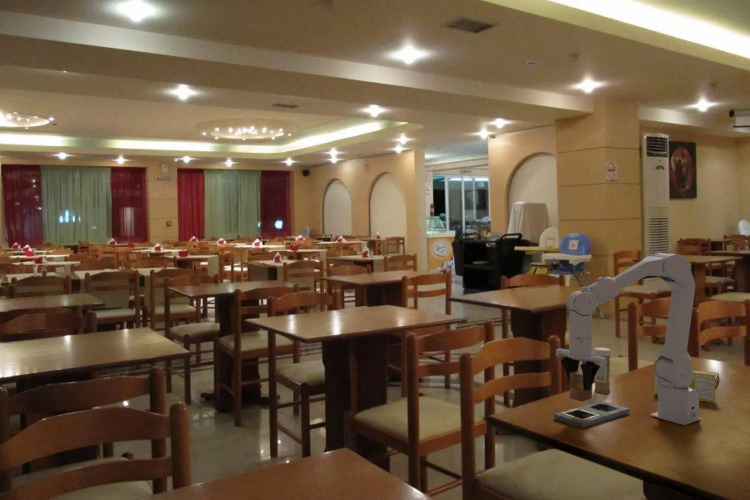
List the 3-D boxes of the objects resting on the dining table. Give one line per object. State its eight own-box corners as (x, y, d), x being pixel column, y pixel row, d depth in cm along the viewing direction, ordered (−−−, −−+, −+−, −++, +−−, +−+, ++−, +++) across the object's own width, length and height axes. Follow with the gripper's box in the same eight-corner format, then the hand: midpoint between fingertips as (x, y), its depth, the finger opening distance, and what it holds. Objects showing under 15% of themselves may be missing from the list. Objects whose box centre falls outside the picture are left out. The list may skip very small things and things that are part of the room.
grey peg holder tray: (629, 413, 166) (629, 407, 166) (582, 428, 155) (582, 422, 155) (600, 405, 173) (600, 400, 173) (554, 419, 162) (554, 413, 162)
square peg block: (592, 399, 161) (592, 373, 160) (582, 401, 158) (582, 375, 158) (579, 395, 164) (579, 370, 164) (569, 398, 162) (569, 372, 161)
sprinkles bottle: (613, 392, 187) (613, 348, 186) (603, 394, 184) (604, 350, 184) (600, 388, 191) (600, 346, 190) (591, 391, 188) (591, 348, 187)
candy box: (715, 401, 176) (716, 373, 176) (714, 403, 174) (714, 375, 174) (655, 392, 186) (655, 366, 186) (653, 394, 184) (654, 367, 184)
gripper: (548, 334, 164) (548, 384, 165) (594, 343, 152) (594, 396, 153) (565, 331, 168) (565, 380, 169) (611, 339, 156) (611, 392, 157)
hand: (580, 387), depth 161 cm, fingers closed on square peg block, 4 cm apart
